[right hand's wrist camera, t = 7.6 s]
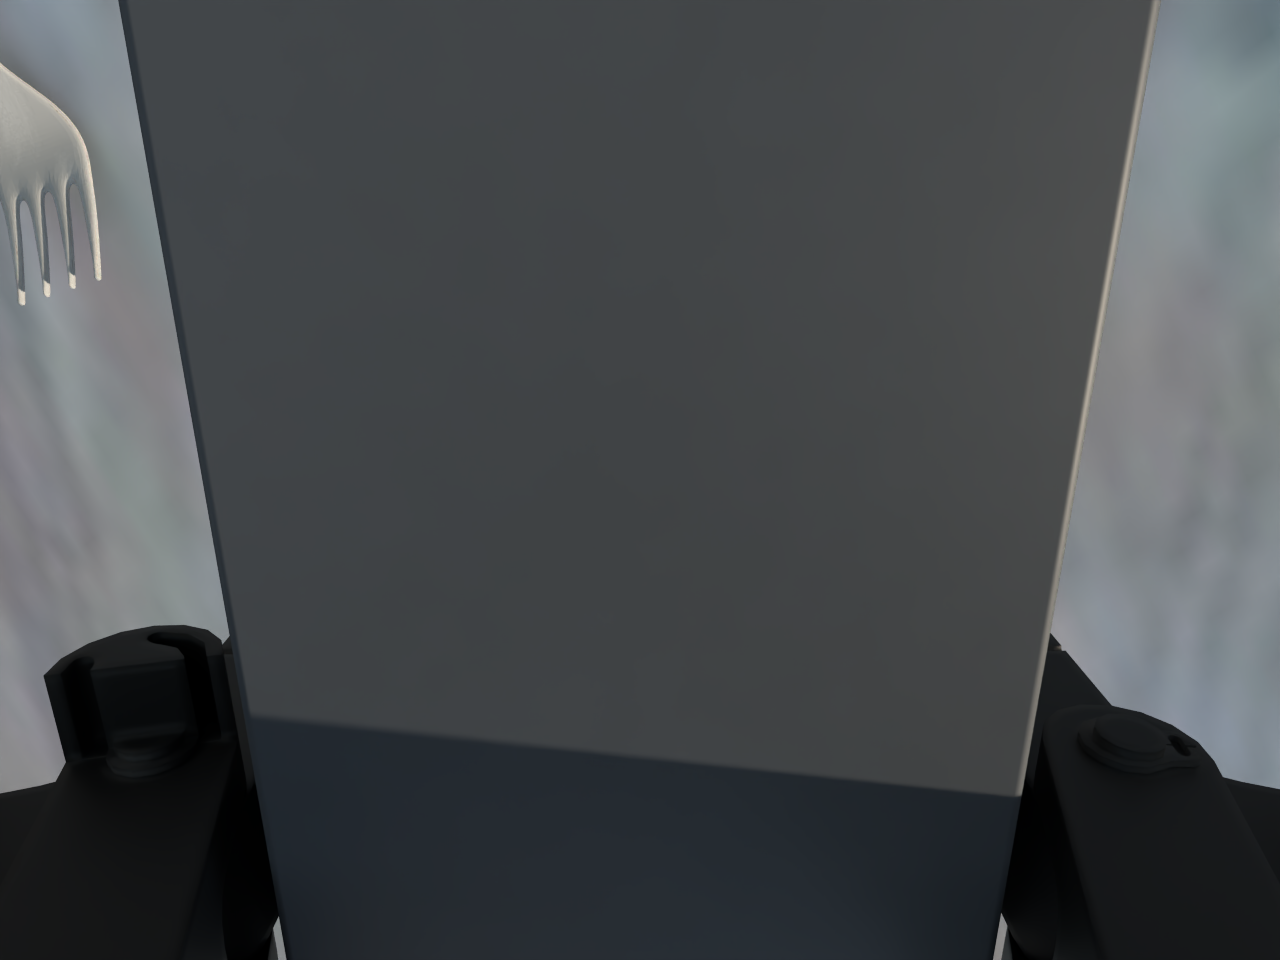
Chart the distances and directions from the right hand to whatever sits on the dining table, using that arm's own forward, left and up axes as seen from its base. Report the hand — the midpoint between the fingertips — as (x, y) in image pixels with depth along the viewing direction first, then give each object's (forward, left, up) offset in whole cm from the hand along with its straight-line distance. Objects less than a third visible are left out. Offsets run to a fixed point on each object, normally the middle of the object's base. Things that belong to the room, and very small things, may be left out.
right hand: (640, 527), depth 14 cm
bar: (+4, +8, -1) cm, 9 cm away
